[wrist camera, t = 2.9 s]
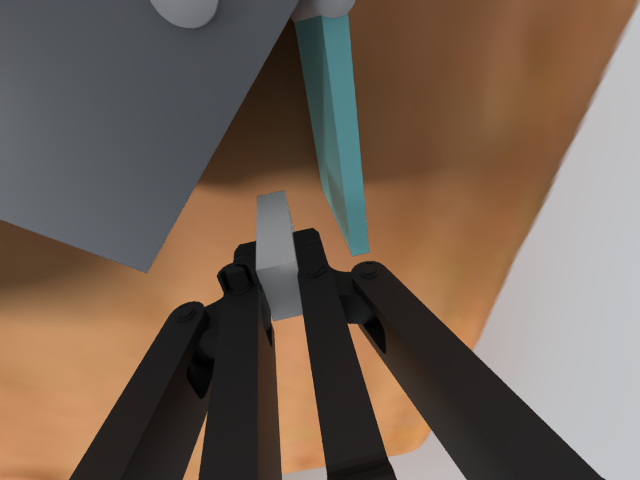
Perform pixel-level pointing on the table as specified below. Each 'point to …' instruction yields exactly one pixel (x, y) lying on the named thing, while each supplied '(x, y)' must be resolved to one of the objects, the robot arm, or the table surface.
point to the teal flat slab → (333, 111)
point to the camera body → (120, 111)
